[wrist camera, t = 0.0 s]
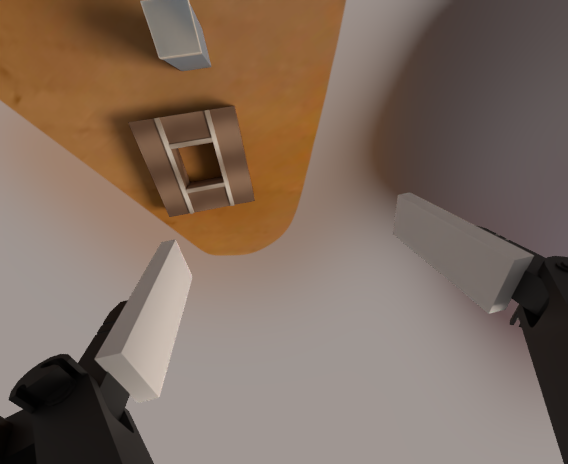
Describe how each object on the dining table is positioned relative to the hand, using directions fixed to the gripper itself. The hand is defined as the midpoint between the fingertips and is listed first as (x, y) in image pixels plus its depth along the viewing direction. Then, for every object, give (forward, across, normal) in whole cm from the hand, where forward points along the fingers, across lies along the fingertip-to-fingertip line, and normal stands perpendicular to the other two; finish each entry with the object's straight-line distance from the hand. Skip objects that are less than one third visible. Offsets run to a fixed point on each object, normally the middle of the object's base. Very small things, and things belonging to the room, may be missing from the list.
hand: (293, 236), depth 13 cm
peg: (+28, -6, +14) cm, 32 cm away
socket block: (+28, -9, 0) cm, 30 cm away
